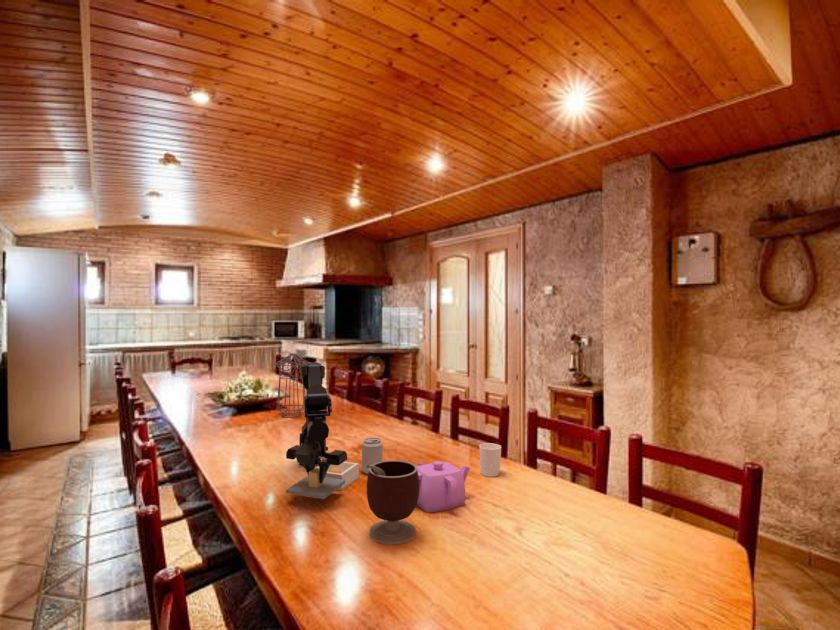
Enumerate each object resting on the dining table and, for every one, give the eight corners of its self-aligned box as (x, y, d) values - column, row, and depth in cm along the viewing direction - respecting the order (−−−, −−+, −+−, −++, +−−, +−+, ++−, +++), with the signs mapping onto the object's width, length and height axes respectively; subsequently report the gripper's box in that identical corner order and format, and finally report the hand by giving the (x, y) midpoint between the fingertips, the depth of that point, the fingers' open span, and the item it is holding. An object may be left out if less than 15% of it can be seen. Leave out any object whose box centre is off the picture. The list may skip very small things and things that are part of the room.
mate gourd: (395, 515, 129) (395, 446, 128) (429, 533, 119) (430, 457, 119) (350, 534, 118) (351, 458, 118) (384, 555, 108) (385, 472, 108)
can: (379, 476, 159) (379, 442, 159) (358, 474, 161) (359, 441, 161) (384, 469, 167) (385, 436, 167) (365, 467, 168) (365, 435, 168)
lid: (285, 493, 135) (286, 474, 135) (309, 477, 148) (310, 461, 148) (323, 499, 131) (323, 480, 131) (345, 483, 143) (345, 466, 143)
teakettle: (403, 510, 133) (403, 468, 132) (419, 488, 149) (419, 451, 149) (459, 518, 128) (460, 474, 128) (470, 494, 144) (470, 456, 144)
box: (310, 485, 150) (310, 470, 150) (328, 473, 162) (328, 459, 162) (341, 490, 146) (341, 475, 146) (358, 477, 158) (358, 463, 158)
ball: (326, 480, 153) (326, 468, 153) (332, 476, 157) (332, 465, 157) (337, 482, 152) (337, 470, 152) (342, 477, 155) (342, 466, 155)
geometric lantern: (272, 418, 244) (272, 354, 243) (285, 412, 259) (285, 352, 259) (299, 419, 241) (299, 355, 241) (311, 413, 256) (311, 352, 256)
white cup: (503, 471, 165) (503, 444, 165) (497, 479, 158) (498, 450, 157) (482, 468, 168) (483, 441, 168) (476, 475, 161) (476, 447, 161)
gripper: (275, 436, 135) (274, 487, 135) (329, 442, 129) (329, 496, 129) (296, 427, 145) (296, 475, 145) (348, 432, 139) (347, 482, 139)
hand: (316, 482), depth 139 cm, fingers closed on lid, 3 cm apart
